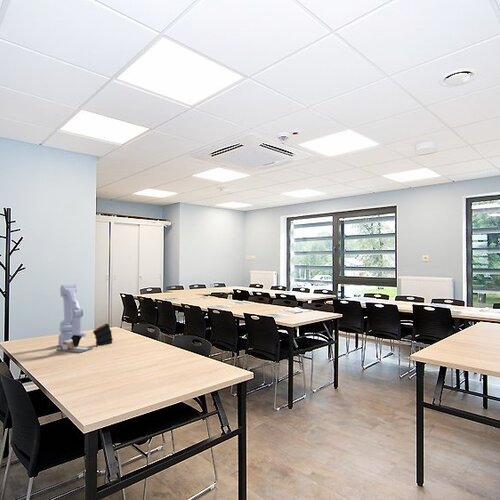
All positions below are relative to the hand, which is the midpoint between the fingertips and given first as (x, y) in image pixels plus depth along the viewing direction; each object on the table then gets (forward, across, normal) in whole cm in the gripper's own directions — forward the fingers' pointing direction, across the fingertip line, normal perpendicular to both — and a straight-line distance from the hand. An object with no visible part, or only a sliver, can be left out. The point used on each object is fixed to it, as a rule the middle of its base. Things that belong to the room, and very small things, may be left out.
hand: (76, 346), depth 245 cm
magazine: (+3, +5, +20) cm, 21 cm away
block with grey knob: (+1, -3, 0) cm, 3 cm away
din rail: (+2, -1, 0) cm, 3 cm away
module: (+1, -6, 0) cm, 7 cm away
